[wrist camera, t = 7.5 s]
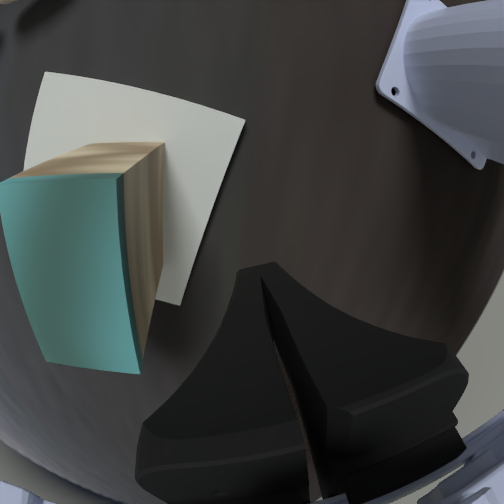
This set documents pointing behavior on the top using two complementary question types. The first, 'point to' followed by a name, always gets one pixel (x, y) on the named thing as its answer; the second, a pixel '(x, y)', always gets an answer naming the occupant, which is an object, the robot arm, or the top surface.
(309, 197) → the top surface
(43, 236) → the teal block wooden top
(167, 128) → the mat
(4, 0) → the toy
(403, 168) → the top surface
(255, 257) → the top surface
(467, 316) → the top surface
